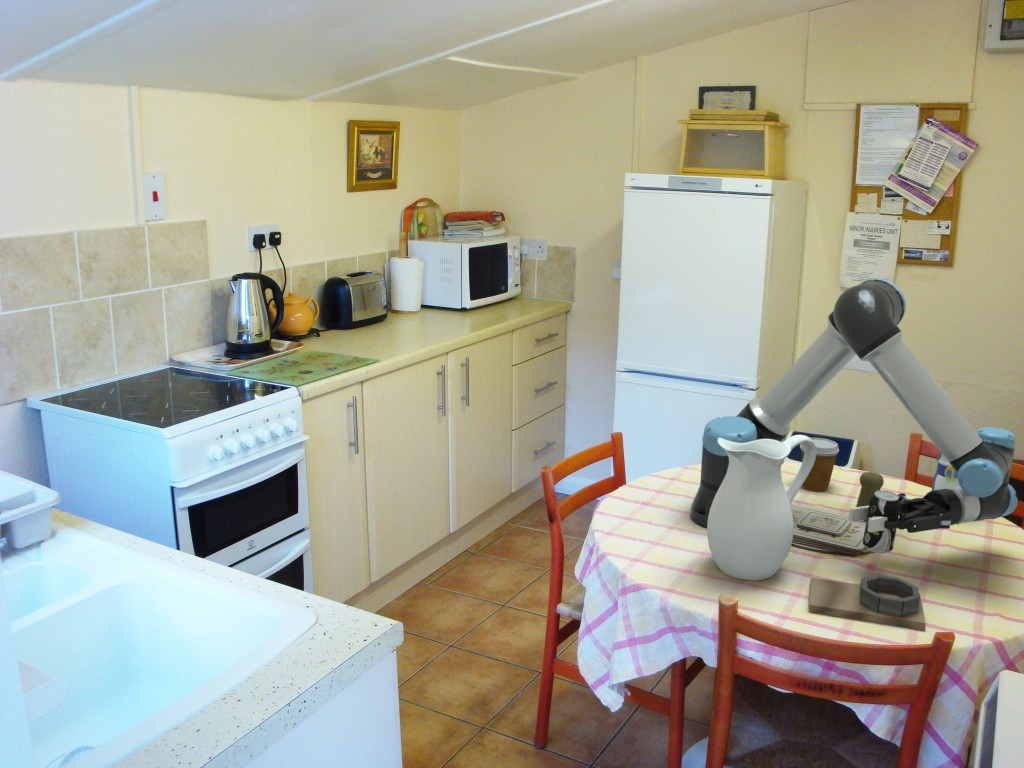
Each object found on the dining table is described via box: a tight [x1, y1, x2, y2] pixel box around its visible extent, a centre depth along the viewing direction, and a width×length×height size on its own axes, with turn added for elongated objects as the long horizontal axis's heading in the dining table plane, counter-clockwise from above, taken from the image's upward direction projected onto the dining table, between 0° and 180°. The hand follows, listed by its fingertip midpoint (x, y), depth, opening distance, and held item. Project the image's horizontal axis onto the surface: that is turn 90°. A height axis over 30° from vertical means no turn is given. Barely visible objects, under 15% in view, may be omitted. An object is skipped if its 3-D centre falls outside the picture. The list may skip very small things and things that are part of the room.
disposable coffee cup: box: [799, 437, 840, 492], centre depth 234 cm, size 10×10×12 cm
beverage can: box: [862, 489, 901, 555], centre depth 183 cm, size 6×6×12 cm
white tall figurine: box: [931, 451, 960, 491], centre depth 215 cm, size 8×9×25 cm
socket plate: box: [808, 574, 927, 631], centre depth 173 cm, size 20×12×4 cm, turn 71°
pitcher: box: [706, 434, 817, 581], centre depth 186 cm, size 24×17×28 cm
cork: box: [855, 471, 885, 522], centre depth 214 cm, size 6×6×11 cm
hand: (860, 520), depth 181 cm, fingers closed on beverage can, 5 cm apart
